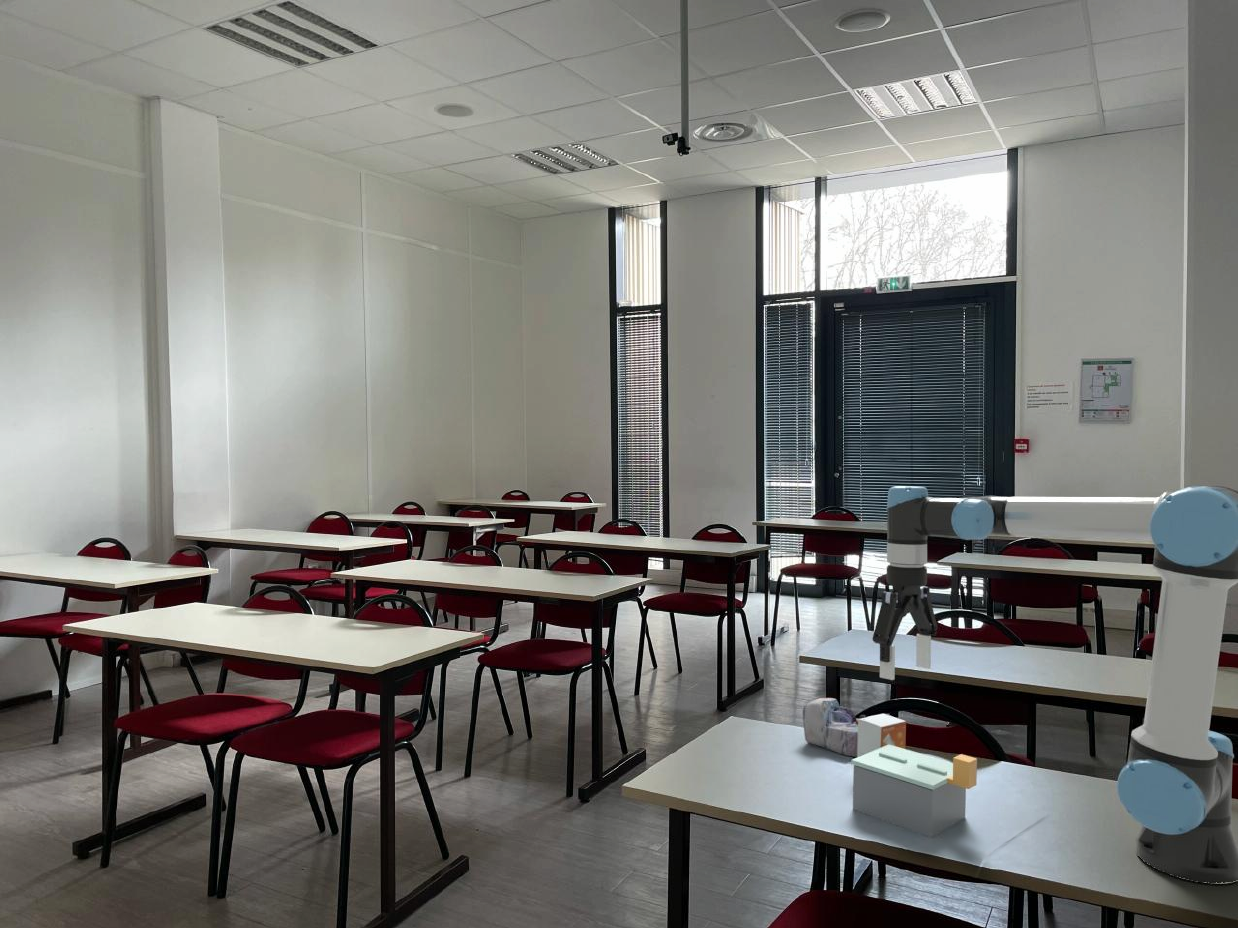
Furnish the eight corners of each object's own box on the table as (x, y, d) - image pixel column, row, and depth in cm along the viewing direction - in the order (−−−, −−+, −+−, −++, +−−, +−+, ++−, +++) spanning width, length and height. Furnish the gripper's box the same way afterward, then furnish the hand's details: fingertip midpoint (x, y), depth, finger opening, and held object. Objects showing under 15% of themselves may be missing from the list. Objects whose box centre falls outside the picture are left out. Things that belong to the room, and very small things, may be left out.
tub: (965, 820, 163) (966, 773, 163) (931, 840, 154) (932, 790, 154) (888, 794, 175) (889, 750, 174) (852, 812, 166) (853, 765, 166)
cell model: (815, 689, 212) (898, 704, 202) (813, 732, 213) (896, 750, 202) (797, 701, 201) (883, 718, 191) (794, 747, 202) (881, 766, 191)
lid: (989, 777, 160) (990, 751, 160) (954, 796, 150) (955, 769, 150) (888, 748, 175) (889, 724, 175) (851, 763, 166) (851, 739, 166)
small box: (879, 789, 177) (881, 726, 177) (855, 779, 182) (857, 718, 182) (905, 781, 182) (906, 720, 181) (881, 772, 187) (882, 712, 187)
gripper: (921, 558, 180) (920, 659, 181) (854, 567, 164) (853, 679, 164) (955, 561, 175) (954, 666, 175) (889, 571, 158) (888, 687, 158)
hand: (905, 672), depth 169 cm, fingers open, 13 cm apart
